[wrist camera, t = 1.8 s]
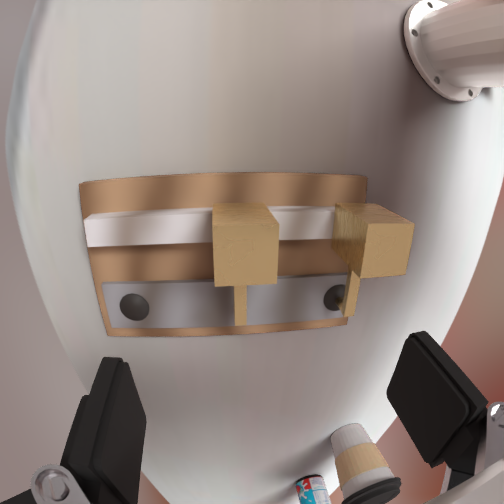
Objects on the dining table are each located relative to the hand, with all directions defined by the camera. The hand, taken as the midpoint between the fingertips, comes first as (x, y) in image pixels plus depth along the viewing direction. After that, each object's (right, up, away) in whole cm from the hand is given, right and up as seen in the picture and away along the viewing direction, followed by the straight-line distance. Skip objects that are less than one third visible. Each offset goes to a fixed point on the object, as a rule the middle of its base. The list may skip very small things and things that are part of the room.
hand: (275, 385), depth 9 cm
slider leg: (-2, +4, +17) cm, 18 cm away
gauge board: (-3, +4, +20) cm, 20 cm away
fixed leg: (+8, +4, +18) cm, 20 cm away
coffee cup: (+15, -26, +34) cm, 46 cm away
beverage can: (+11, -43, +41) cm, 60 cm away
